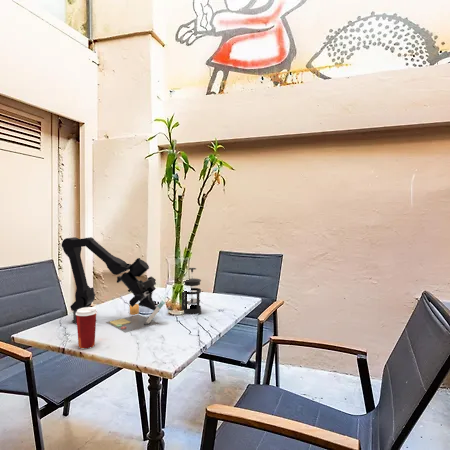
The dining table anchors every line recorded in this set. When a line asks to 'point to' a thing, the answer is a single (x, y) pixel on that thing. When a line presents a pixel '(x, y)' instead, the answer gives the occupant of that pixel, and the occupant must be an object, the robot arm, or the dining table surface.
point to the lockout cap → (134, 309)
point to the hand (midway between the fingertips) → (155, 309)
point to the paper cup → (86, 326)
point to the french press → (193, 308)
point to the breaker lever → (155, 311)
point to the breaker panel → (131, 323)
